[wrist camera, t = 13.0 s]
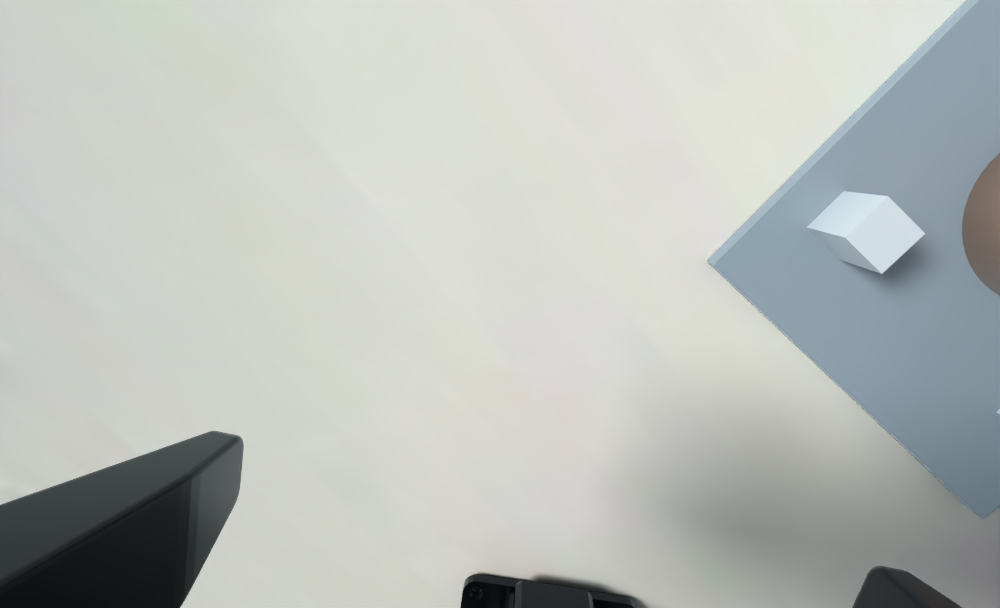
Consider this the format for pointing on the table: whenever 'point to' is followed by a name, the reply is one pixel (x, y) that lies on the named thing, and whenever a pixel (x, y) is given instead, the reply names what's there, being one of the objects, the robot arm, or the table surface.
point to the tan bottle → (984, 226)
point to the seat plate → (897, 257)
